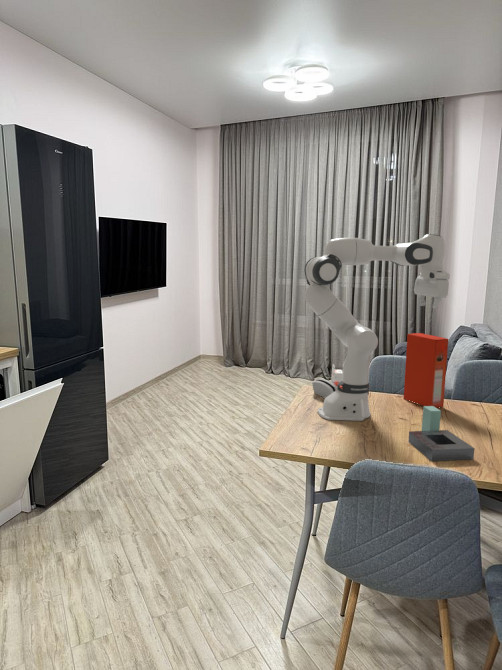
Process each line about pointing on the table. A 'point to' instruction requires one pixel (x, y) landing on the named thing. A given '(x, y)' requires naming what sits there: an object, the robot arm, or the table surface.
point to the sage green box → (431, 418)
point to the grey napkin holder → (323, 387)
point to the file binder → (425, 369)
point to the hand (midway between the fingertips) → (428, 306)
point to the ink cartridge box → (336, 375)
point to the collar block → (441, 445)
